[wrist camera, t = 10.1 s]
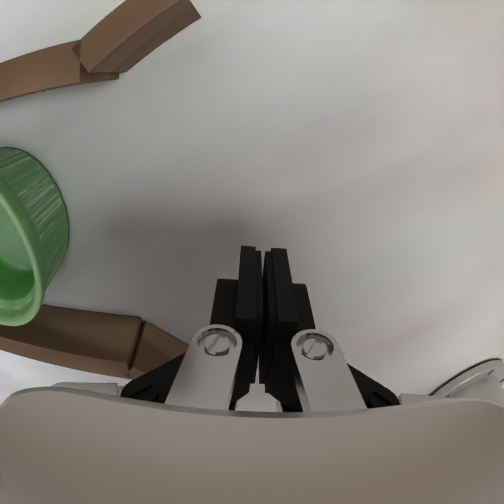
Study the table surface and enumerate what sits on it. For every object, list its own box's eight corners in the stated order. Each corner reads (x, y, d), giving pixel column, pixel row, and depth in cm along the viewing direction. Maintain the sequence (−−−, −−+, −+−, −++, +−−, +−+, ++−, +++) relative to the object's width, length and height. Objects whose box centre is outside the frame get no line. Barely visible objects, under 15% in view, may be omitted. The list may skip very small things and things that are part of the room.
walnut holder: (198, 359, 19) (194, 404, 16) (-2, 326, 18) (-21, 356, 15) (203, -3, 9) (190, -30, 6) (-64, 73, 8) (-102, 84, 5)
